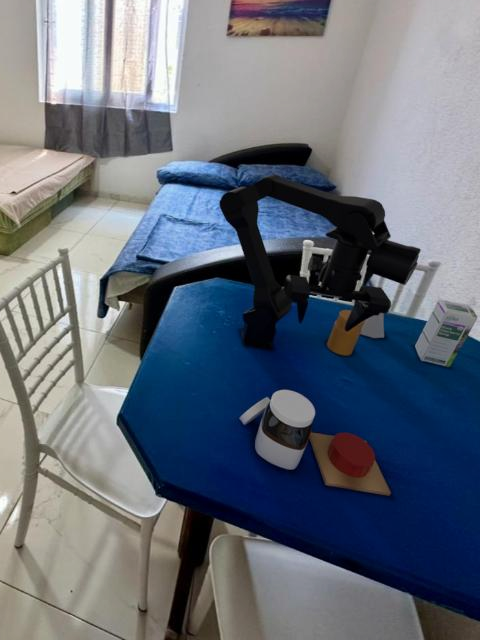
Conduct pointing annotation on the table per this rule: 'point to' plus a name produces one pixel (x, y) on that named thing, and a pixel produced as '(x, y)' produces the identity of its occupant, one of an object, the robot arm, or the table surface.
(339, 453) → the lid
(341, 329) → the orange pill bottle
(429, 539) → the table surface
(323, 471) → the coaster
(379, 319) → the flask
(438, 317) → the syrup box
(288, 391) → the spread jar
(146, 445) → the table surface
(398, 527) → the table surface
